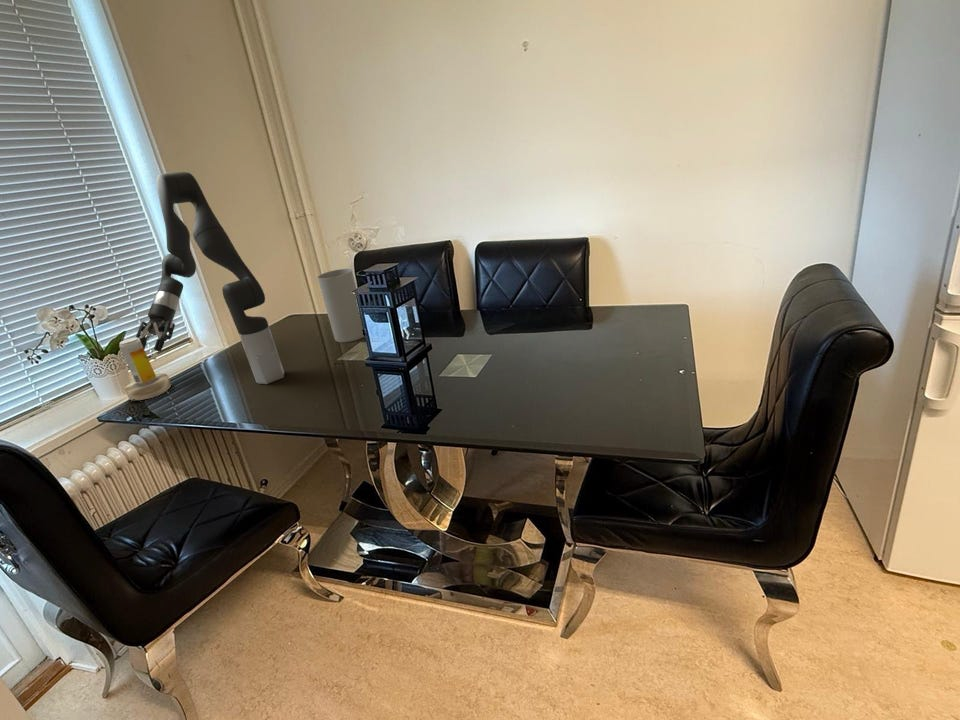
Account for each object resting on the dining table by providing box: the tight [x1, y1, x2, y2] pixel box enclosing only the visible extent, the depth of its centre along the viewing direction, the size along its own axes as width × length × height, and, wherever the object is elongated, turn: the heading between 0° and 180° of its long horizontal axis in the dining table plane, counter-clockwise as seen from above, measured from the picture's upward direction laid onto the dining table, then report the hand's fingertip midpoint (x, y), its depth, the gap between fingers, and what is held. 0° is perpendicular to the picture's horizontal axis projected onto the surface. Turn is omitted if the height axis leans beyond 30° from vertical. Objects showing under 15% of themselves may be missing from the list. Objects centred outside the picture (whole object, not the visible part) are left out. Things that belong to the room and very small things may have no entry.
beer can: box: [119, 337, 156, 385], centre depth 173 cm, size 6×6×15 cm
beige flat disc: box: [124, 373, 173, 401], centre depth 176 cm, size 13×13×4 cm
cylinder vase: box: [316, 268, 365, 344], centre depth 194 cm, size 12×12×25 cm
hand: (148, 350), depth 176 cm, fingers open, 8 cm apart
